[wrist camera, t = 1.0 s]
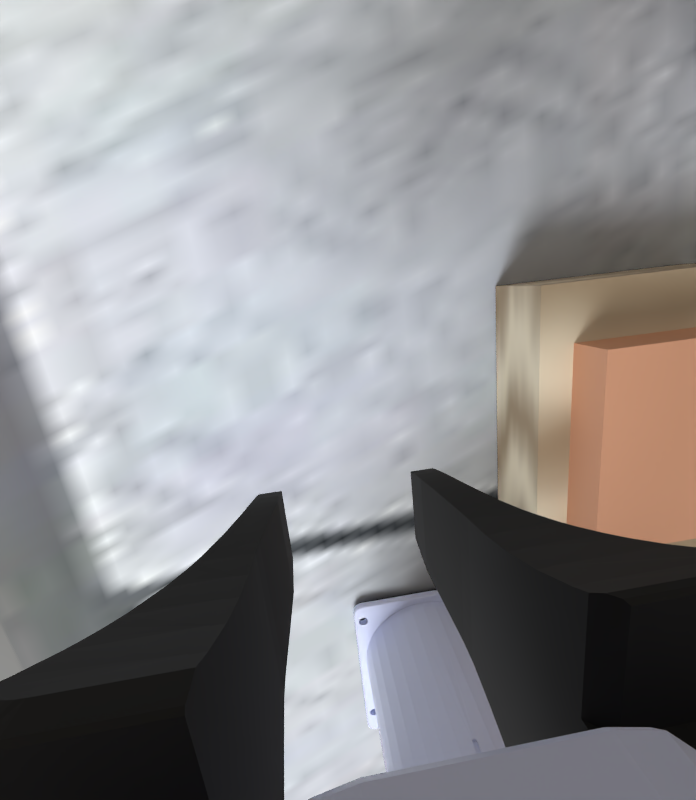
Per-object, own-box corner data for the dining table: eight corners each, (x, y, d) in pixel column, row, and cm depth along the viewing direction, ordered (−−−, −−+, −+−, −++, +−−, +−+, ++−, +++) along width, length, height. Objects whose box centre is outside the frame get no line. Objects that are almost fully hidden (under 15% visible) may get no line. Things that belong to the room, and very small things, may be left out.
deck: (657, 506, 25) (722, 546, 21) (498, 532, 24) (535, 578, 20) (683, 264, 21) (768, 258, 17) (495, 286, 20) (540, 285, 17)
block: (682, 510, 20) (722, 533, 18) (566, 529, 20) (594, 555, 18) (705, 325, 18) (754, 330, 16) (573, 343, 17) (608, 349, 15)
